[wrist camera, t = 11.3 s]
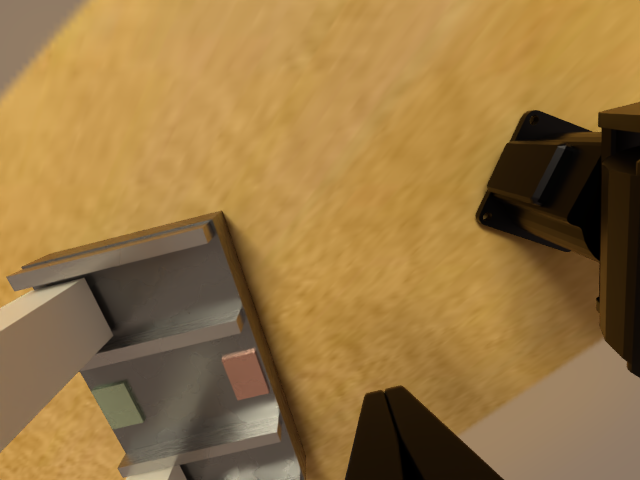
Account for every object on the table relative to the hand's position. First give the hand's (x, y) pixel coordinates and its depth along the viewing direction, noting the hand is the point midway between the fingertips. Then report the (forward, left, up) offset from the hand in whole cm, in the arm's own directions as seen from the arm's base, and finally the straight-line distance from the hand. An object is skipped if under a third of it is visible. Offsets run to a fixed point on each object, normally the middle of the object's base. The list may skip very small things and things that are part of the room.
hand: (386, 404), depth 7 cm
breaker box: (+6, +12, -13) cm, 18 cm away
